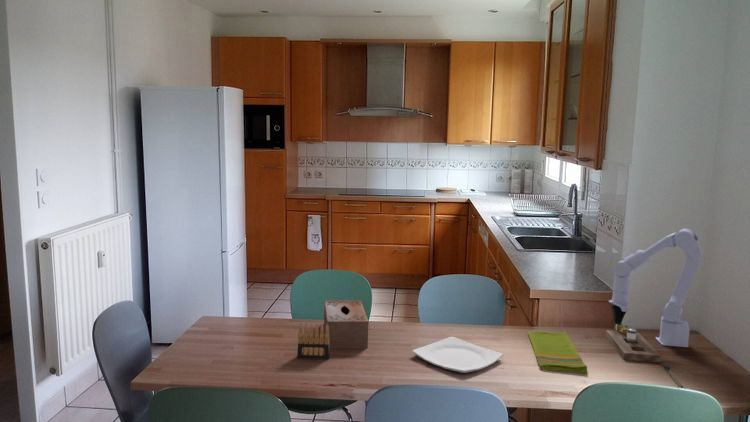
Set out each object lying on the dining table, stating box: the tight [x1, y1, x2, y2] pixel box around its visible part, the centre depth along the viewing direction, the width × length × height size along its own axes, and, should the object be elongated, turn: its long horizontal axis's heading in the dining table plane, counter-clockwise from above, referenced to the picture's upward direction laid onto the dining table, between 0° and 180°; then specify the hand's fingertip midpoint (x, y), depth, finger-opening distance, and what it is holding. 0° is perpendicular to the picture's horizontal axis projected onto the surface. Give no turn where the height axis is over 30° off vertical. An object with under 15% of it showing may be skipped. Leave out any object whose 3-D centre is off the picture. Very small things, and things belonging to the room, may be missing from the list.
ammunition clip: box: [296, 322, 330, 360], centre depth 192 cm, size 11×2×12 cm, turn 91°
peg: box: [626, 327, 638, 343], centre depth 213 cm, size 3×3×7 cm
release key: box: [615, 323, 629, 334], centre depth 222 cm, size 4×5×2 cm
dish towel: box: [527, 330, 589, 375], centre depth 206 cm, size 15×36×3 cm, turn 172°
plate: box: [411, 336, 504, 374], centre depth 196 cm, size 24×24×3 cm
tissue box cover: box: [323, 299, 369, 349], centre depth 214 cm, size 26×14×10 cm, turn 7°
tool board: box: [605, 329, 661, 363], centre depth 212 cm, size 12×24×2 cm, turn 173°
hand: (617, 323), depth 230 cm, fingers closed
